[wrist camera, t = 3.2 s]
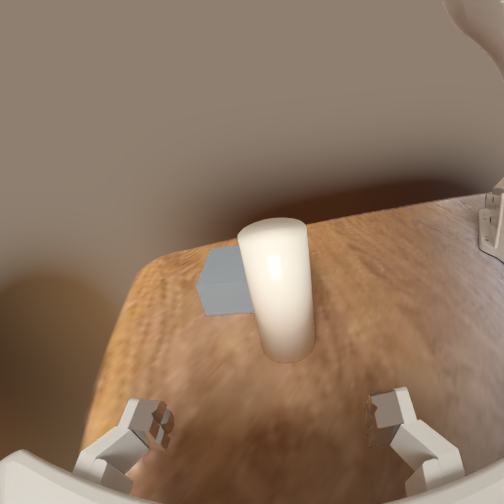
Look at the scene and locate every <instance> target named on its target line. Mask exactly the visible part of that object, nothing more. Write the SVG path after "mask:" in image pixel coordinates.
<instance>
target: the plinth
mask: <svg viewBox="0 0 504 504" xmlns="http://www.w3.org/2000/svg"><path fill="white" fill-rule="evenodd" d="M196 287H197V291H198V294H199V296H200V299H201V302H202V305H203V308H204V311H205V314H206V316H213V315H227V314H241V313H253V312H254V310H253V305H252V301H251V297H250V292H249V288H248V283H247V279H246V274H245V270H244V265H243V260H242V256H241V251H240V247H239V245H236V246H228V247H220V248H212V249H211V250H210V253H209V255H208V257H207V260H206V262H205V265H204V267H203V270H202V272H201V274H200V277H199V279H198V282H197V284H196Z"/></svg>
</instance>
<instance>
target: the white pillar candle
mask: <svg viewBox="0 0 504 504" xmlns="http://www.w3.org/2000/svg"><path fill="white" fill-rule="evenodd" d="M238 242H239V247H240V251H241V256H242V260H243V265H244V270H245V274H246V279H247V283H248V288H249V292H250V297H251V301H252V305H253V310H254V314H255V319H256V323H257V328H258V332H259V336H260V341H261V345H262V349H263V352H264V354H265V355H266V356H267V357H268V358H269V359H271V360H273V361H275V362H279V363H293V362H297V361H300V360H302V359H304V358H305V357H307V356H308V355H309V354H310V353H311V352H312V350H313V349H314V346H315V329H314V312H313V297H312V283H311V271H310V259H309V248H308V238H307V228H306V225H305V224H304V223H303V222H301V221H299V220H296V219H292V218H272V219H266V220H262V221H259V222H255V223H253V224H251V225H248V226H247V227H245V228H244V229H243V230H241V231H240V233H239V234H238Z"/></svg>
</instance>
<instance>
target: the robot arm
mask: <svg viewBox="0 0 504 504" xmlns="http://www.w3.org/2000/svg"><path fill="white" fill-rule="evenodd" d="M442 2H443V6H444V8H445V10H446V12H447V14H448V16H449V18H450V19H451V21H452V22H453V24H454V25H455V26H456V27H457V28H458V29H459V30H460V31H461V32H462V33H463V34H464V35H465V36H467V37H468V38H469V39H471V40H472V41H474V42H475V43H476V44H477V45H478V46H479V47H480V48H481V49H482V50H483V51H484V52H485V53H486V54H487V56H488V57H489V58H490V59H491V61H492V62H493V64H494V65H495V67H496V68H497V70H498V72H499V74H500V76H501V78H502V80H503V82H504V0H442ZM485 207H486V208H483V209H480V210H479V214H478V220H479V247H480V249H481V250H482V251H484V252H486V253H488V254H490V255H493V256H495V257H497V258H498V259H500V260H501V261H502V262H504V177H503V179H502V180H501V181H500V182H499V183H498V184H497V185H496V186H495V187H494V188H493V192H492V194H490V193H486V197H485ZM367 400H368V403H367V404H366V405H365V414H364V415H365V423H366V426H367V427H369V431H368V434H367V435H368V441H369V447H370V448H373V447H379V446H384V445H389V444H390V446H391V447H392V448H393V449H394V450H395V451H396V453H397V454H398V455H399V456H400V457H401V458H402V459H403V460H404V461H405V462H406V463H407V464H408V465H409V466H410V467H411V468H412V469H413V470H414V471H415V472H414V473H413V475H412V476H411V477H410V478H409V479H408V480H407V481H406V482H405V489H406V496H407V497H406V498H402V499H399V500H395V501H391V502H387V503H382V504H504V457H503V458H502V459H500V460H498V461H496V462H494V463H492V464H490V465H488V466H486V467H484V468H482V469H480V470H478V471H476V472H474V473H472V474H470V475H467V476H466V475H465V472H464V468H463V464H462V460H461V457H460V453H459V450H458V448H456V447H455V446H454V445H452V444H451V443H450V442H449V441H447V440H446V439H445V438H444V437H442V436H441V435H440V434H438V433H437V432H436V431H435V430H433V429H432V428H431V427H430V426H428V425H427V424H426V423H424V422H423V421H422V420H421V419H420V420H417V418H416V414H415V411H414V408H413V405H412V401H411V398H410V395H409V392H408V389H407V388H406V387H405V386H404V387H399V388H395V389H389V390H385V391H380V392H375V393H370V394H368V397H367ZM166 406H167V405H166V404H165V403H164V401H155V400H146V399H140V398H131V399H130V400H129V401H128V403H127V406H126V408H125V410H124V413H123V415H122V418H121V420H120V422H119V425H118V427H117V426H115V427H113V428H112V429H111V430H109V431H108V432H107V433H105V434H104V435H103V436H102V437H100V438H99V439H98V440H96V441H95V442H94V443H92V444H91V445H89V446H88V447H87V448H85V449H84V450H83V451H81V453H80V456H79V458H78V460H77V463H76V465H75V468H74V470H73V472H72V473H70V472H67V471H65V470H63V469H61V468H59V467H57V466H55V465H53V464H51V463H49V462H47V461H45V460H43V459H41V458H39V457H37V456H35V455H34V454H32V453H30V452H28V451H26V450H23V449H21V450H18V451H16V452H14V453H13V454H11V455H9V456H7V457H5V458H4V459H3V460H1V461H0V504H163V503H159V502H154V501H150V500H147V499H143V498H139V497H136V496H132V495H130V493H131V489H132V486H133V481H132V480H131V479H130V478H128V477H127V476H125V474H126V473H127V472H128V471H129V470H130V469H131V468H132V467H133V466H134V465H135V464H136V463H137V462H138V461H139V460H140V459H141V458H142V457H143V456H144V455H145V454H146V453H147V452H148V451H149V450H150V449H157V450H163V451H167V447H168V444H169V440H170V438H169V435H168V434H169V433H170V432H171V431H172V430H173V426H174V417H173V414H172V413H171V411H169V410H168V409H166ZM149 448H150V449H149Z"/></svg>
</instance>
